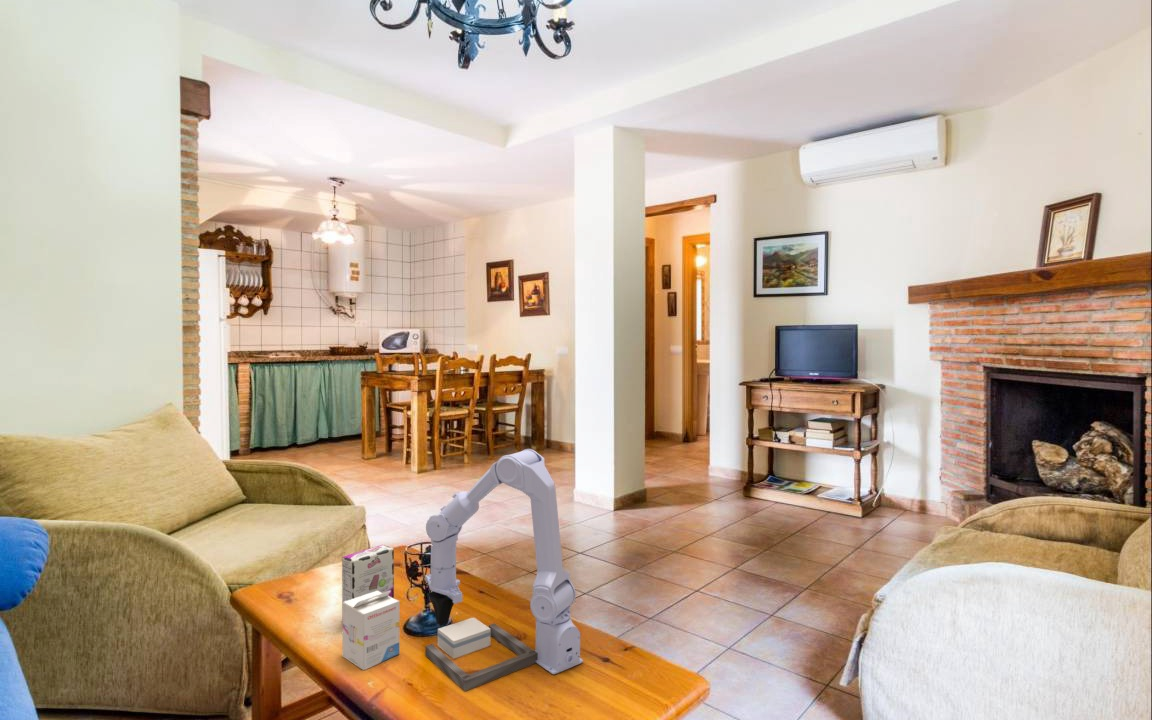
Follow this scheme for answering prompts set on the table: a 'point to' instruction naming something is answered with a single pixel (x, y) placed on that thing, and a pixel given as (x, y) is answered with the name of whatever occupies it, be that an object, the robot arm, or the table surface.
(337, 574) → the table surface
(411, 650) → the table surface
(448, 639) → the carton
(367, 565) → the candy bar box
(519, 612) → the table surface
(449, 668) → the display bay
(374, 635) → the ink box
